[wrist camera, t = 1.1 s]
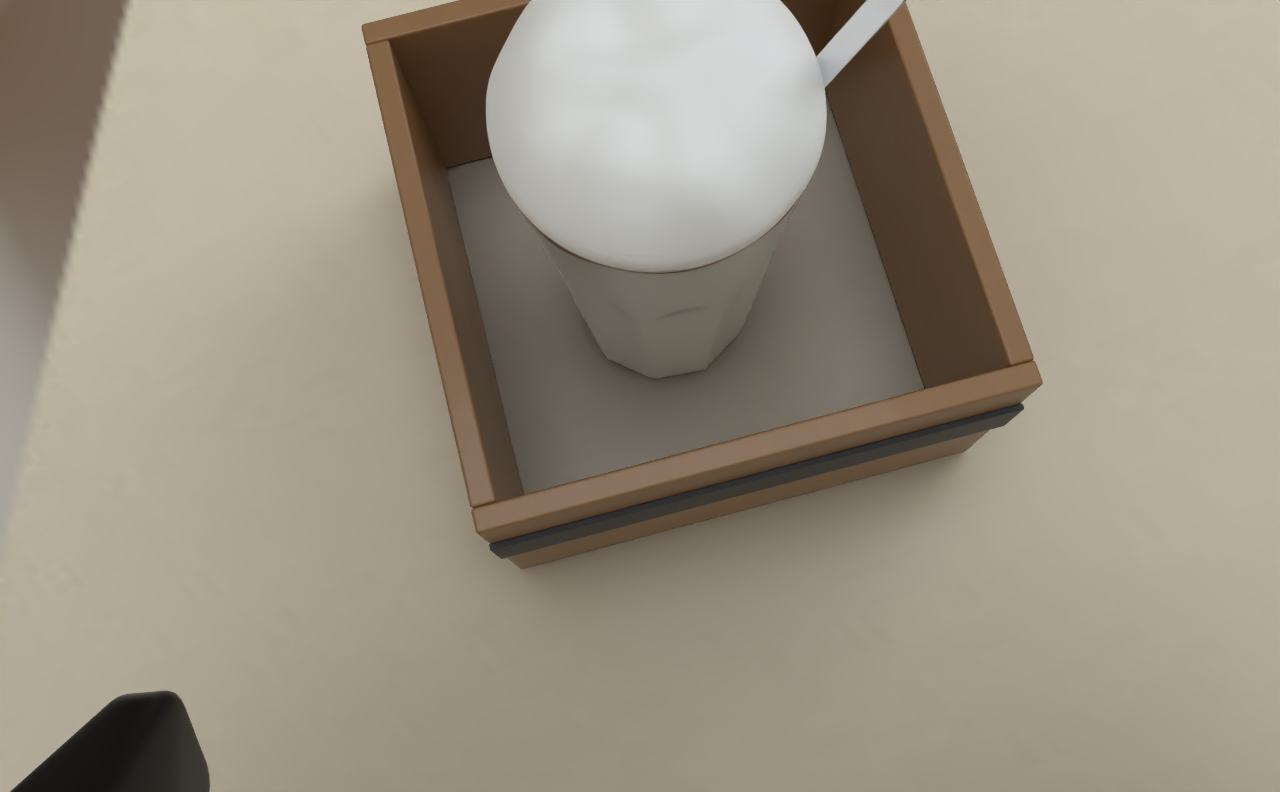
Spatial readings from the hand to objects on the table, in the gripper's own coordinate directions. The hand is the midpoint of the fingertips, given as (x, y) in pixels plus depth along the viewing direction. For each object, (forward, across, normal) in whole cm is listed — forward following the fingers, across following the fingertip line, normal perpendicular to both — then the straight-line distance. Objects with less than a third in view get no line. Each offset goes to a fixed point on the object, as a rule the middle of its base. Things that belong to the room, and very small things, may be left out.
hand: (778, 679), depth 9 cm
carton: (+15, 0, +4) cm, 15 cm away
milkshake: (+15, 0, +4) cm, 15 cm away
